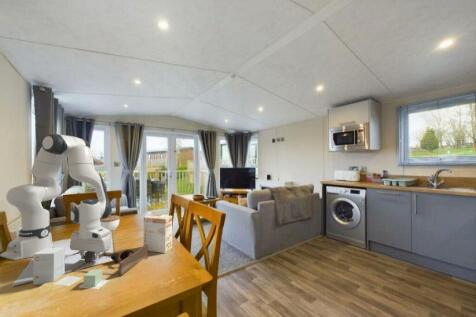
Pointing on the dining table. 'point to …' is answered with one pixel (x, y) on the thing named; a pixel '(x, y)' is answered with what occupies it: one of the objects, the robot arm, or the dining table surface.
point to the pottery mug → (121, 255)
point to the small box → (48, 265)
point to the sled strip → (123, 265)
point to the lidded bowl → (110, 222)
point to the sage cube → (93, 278)
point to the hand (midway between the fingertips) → (89, 259)
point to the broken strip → (71, 280)
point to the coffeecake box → (158, 233)
